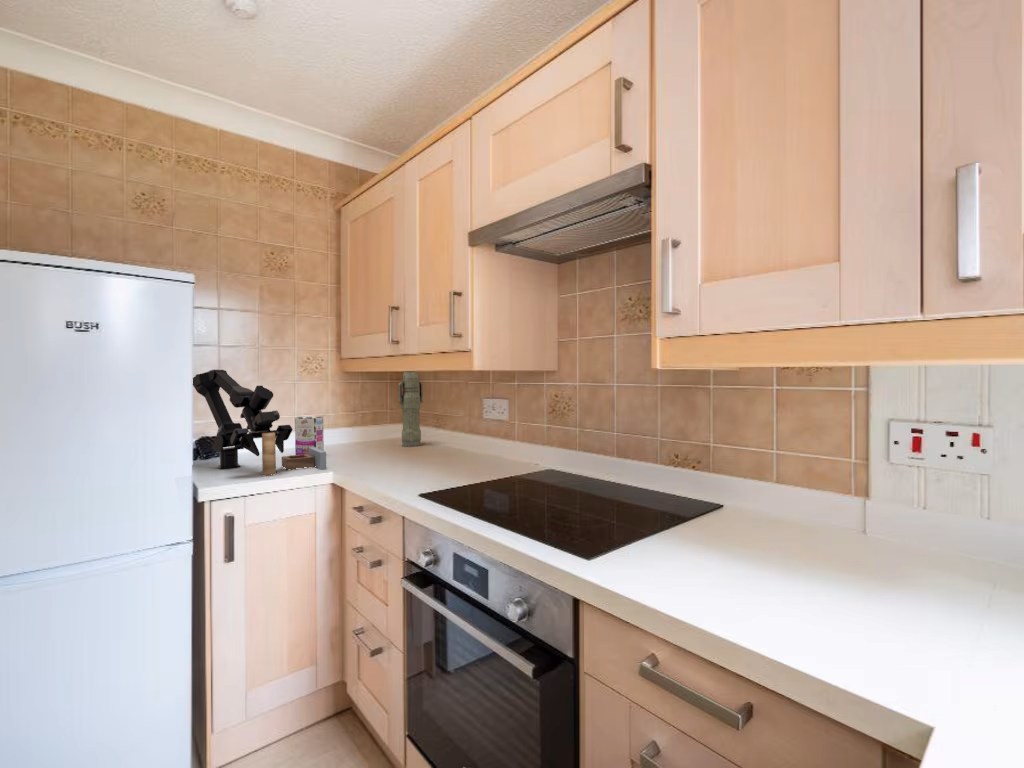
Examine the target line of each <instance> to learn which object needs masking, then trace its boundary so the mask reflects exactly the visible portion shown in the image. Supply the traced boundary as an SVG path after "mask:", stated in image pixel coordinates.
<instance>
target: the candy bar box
mask: <svg viewBox="0 0 1024 768" xmlns="http://www.w3.org/2000/svg"><path fill="white" fill-rule="evenodd" d="M294 438H295V441H294V442H295V444H294V445H295V451H294V452H295V454H294V455H303V454H309V448H310V447H315V448H317V449H320V450H322V451H325V449H324V446H325V444H324V440H325V439H324V416H310V415H309V416H296V417H294Z"/></svg>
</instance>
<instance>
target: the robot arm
mask: <svg viewBox="0 0 1024 768" xmlns="http://www.w3.org/2000/svg"><path fill="white" fill-rule="evenodd" d="M192 379H193V384H192V387H194V389H195V391H196V392H197V393H198V394H199V395H201V396H203V397H204V398H205V401H206V403H207V405H208V408H209V410H210V412H211V414H212V416H213V419H214V421H215V423H216V426H217V427H218V428H217V432H216V434H215V435H216V439H215V441H214V443H213V445H212V450H213V452H217V453H219V464H218V465H217V467H218V468H219V470H223V469H231V468H240V467H241V465H240V464H239V450H244V449H245V450H248V452H251V453H252V454H253V455H255V456H257V457H259V456H260V452H259V448H258V446H257V444H256V442H255V441H254V439H262V433H266V432H275V447H276V448H277V449H278V451H279V452H280V454H283V453H284V452H285V449H284V444H285V441H287V440H289V438H290V437H291V433H292V431H294V430H293V428H292V427H293V426H292V425H290V424H282V425H278V426H277V428H276V429H274V430H272V429H271V428H272V427H273V423H274V422H277V421H278V420H279V419H281V417H280V412H279V411H278V410H272V411H263V410H265V409H267V408H268V406H269V404H270V402H271V401H272V400H273V398H274V393H273V391H272V390H270V389H269V388H266V387H264V385H256V386H255V389H254V390H252V389H250V388H247V387H243V386H241V385H240V383H238V382H237V381H236V380H235V379H234V378H232V377H231V376H230V375H229V374H228V372H227V370H226V369H225V370H224V369H211V370H208V371H207V372H202V373H197V374H196V375H194V377H192ZM220 388H221V389H222V390H223V391H224V392H225V393H226V394H227V395H228V396H229V402H230V403H231V405H232V406H233V407H234V408H238V409H239V408H242V410H241V413H240V415H239V416H240V419H245V422H246V424H247V425H246V427H244V428H243V426H242V424H241V423H240V422H233V419H232V417H231V416H230V415H231V414H230V413H229V410H228V408H227V406H226V405H225V402H224V400H223V397H222V396H221V393H220Z"/></svg>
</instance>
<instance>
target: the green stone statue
mask: <svg viewBox="0 0 1024 768" xmlns="http://www.w3.org/2000/svg"><path fill="white" fill-rule="evenodd" d="M419 379H420V377H419V375H418V371H417V372H416V371H405V372H403V374H402V379H401V380H402V381H400V382H398V390H397V391H398V403H399V404H400V405H401V407H400V408H401V411H402V429H401V442H402V445H401V446H402V447H406V448H407V447H408V448H410V447H411V448H412V447H420V446H421V441H422V431H421V429H420V428H421V426H420V424H421V421H420V409H421V404H422V403H423V401H424V399H423V397H424V394H423V392H424V389H423V387H424V386H423V385H424V384H423V383H422V381H420V380H419Z"/></svg>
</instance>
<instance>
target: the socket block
mask: <svg viewBox="0 0 1024 768" xmlns="http://www.w3.org/2000/svg"><path fill="white" fill-rule="evenodd" d="M282 466H283V467H285V468H286V469H295V470H297V469H296V468H303V469H305V468H304V467H312V468H315V466H314V457H313V456H311V455H309V454H303V455H296V454H294V455H284V456H283V455H282V456H281V467H282ZM283 467H282V468H283ZM286 469H285V470H286Z"/></svg>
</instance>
